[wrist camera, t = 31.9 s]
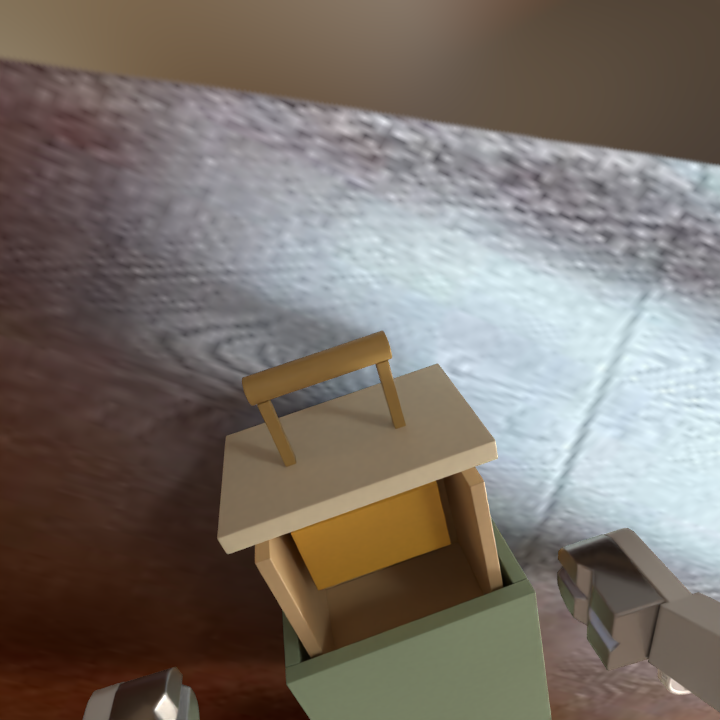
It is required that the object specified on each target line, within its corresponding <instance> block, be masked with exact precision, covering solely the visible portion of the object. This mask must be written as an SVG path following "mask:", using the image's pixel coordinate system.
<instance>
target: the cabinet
mask: <svg viewBox="0 0 720 720" xmlns="http://www.w3.org/2000/svg"><path fill="white" fill-rule="evenodd" d="M491 521H492V527H493V532H494V538H495V543H496V549H497V555H498V560H499V566H500V571H501V577H502V582H503V588H501V589H499V590H496V591H493V592H491V593H488V594H485V595H483V596H480V597H477V598H474V599H472V600H469V601H466V602H464V603H461V604H458V605H455V606H453V607H450V608H447V609H445V610H442V611H439V612H437V613H434V614H431V615H428V616H426V617H423V618H420V619H418V620H415V621H412V622H409V623H407V624H404V625H401V626H399V627H396V628H393V629H391V630H388V631H385V632H382V633H380V634H377V635H374V636H372V637H369V638H366V639H364V640H361V641H358V642H355V643H353V644H350V645H347V646H345V647H342V648H339V649H336V650H334V651H331V652H328V653H326V654H323V655H320V656H318V657H315V658H312V659H311V657H310V656H309V654H308V652H307V651H306V649H305V647H304V646H303V644H302V642H301V640H300V639H299V637H298V635H297V634H296V632H295V630H294V629H293V627H292V625H291V624H290V622H289V620H288V619H287V617H286V615H285V613H284V612H283V610H282V617H283V634H284V651H285V667H286V684H287V686H288V687H289V689H290V690H291V692H292V693H293V695H294V696H295V698H296V699H297V701H298V702H299V704H300V705H301V707H302V708H303V709H304V711H305V712H306V714H307V715H308V717H309V718H310V720H551V712H550V704H549V697H548V689H547V681H546V673H545V665H544V657H543V649H542V641H541V633H540V625H539V617H538V610H537V602H536V594H535V590H534V589H533V587H532V585H531V584H530V582H529V580H528V579H527V577H526V575H525V574H524V572H523V570H522V569H521V567H520V565H519V564H518V562H517V560H516V558H515V557H514V555H513V553H512V552H511V550H510V548H509V547H508V545H507V543H506V542H505V540H504V538H503V536H502V535H501V533H500V531H499V530H498V528H497V526H496V525H495V523H494V521H493V520H492V518H491Z"/></svg>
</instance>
